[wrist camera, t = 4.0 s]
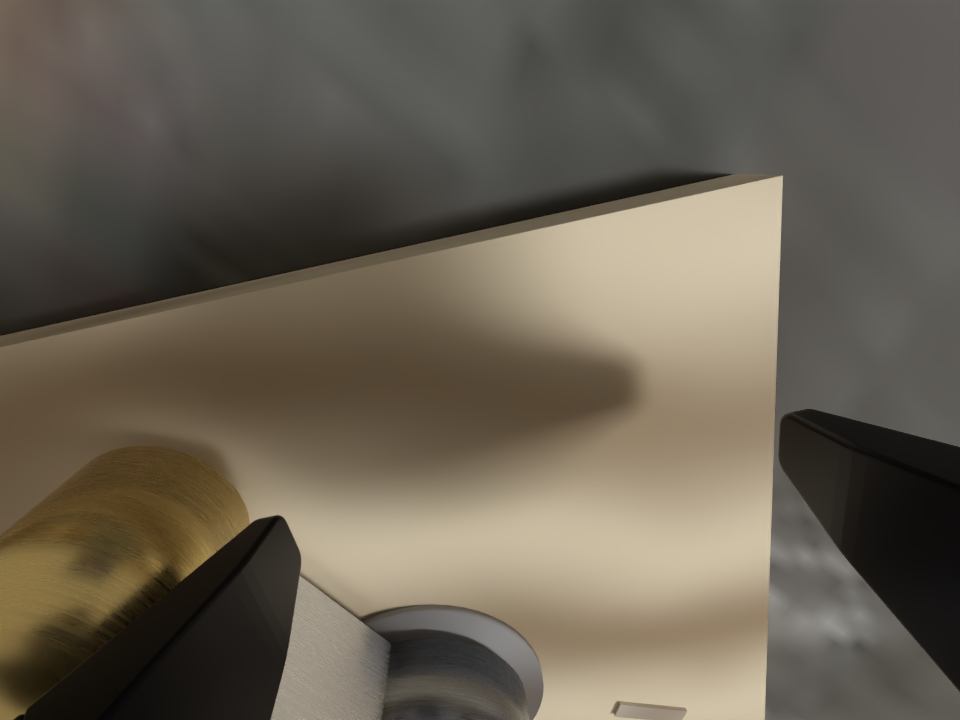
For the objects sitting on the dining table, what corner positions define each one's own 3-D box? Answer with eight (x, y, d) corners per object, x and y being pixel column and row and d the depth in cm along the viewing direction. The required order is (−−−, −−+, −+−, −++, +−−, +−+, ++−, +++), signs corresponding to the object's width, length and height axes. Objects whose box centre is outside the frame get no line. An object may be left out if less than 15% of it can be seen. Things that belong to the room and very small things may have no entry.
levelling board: (736, 760, 17) (766, 821, 16) (250, 854, 18) (230, 923, 16) (734, 173, 10) (792, 175, 8) (-115, 360, 10) (-222, 398, 8)
